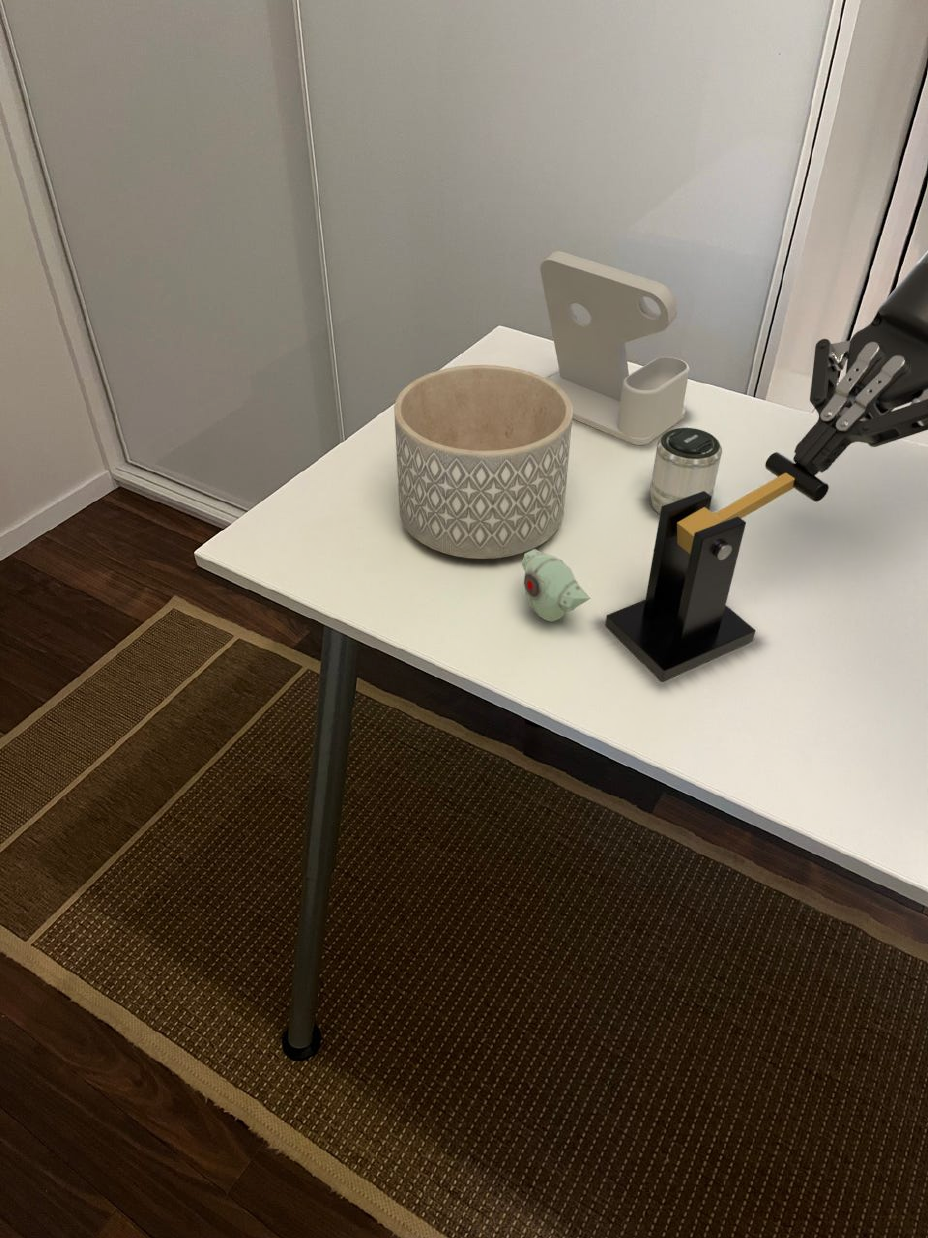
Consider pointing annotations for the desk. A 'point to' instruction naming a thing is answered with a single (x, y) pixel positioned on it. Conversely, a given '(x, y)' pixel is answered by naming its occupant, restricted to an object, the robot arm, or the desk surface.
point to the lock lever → (755, 498)
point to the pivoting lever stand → (685, 596)
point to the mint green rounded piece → (550, 586)
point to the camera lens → (684, 465)
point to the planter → (482, 459)
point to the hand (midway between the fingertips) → (803, 468)
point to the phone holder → (612, 348)
